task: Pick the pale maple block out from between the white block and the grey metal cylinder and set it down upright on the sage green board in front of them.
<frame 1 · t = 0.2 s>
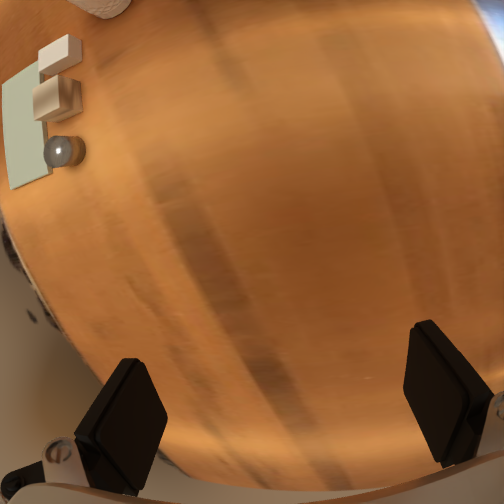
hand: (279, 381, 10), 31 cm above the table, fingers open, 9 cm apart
maple block: (68, 102, 36), on the table
sage board: (25, 124, 36), on the table
white block: (67, 58, 33), on the table
metal cylinder: (74, 151, 38), on the table
white cup: (114, 2, 31), on the table
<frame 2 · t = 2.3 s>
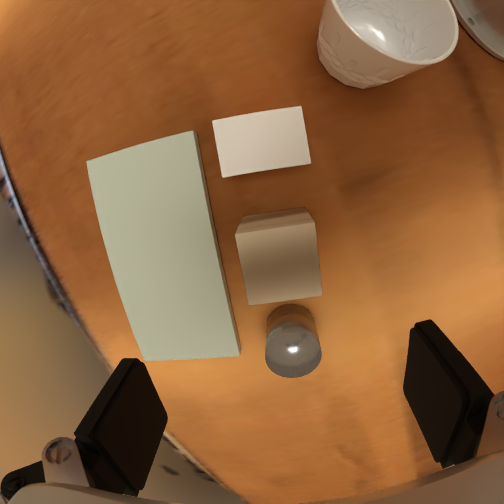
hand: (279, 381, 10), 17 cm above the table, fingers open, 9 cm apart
maple block: (278, 241, 25), on the table
sage board: (164, 258, 26), on the table
white block: (263, 143, 23), on the table
metal cylinder: (290, 324, 28), on the table
white cup: (355, 53, 20), on the table
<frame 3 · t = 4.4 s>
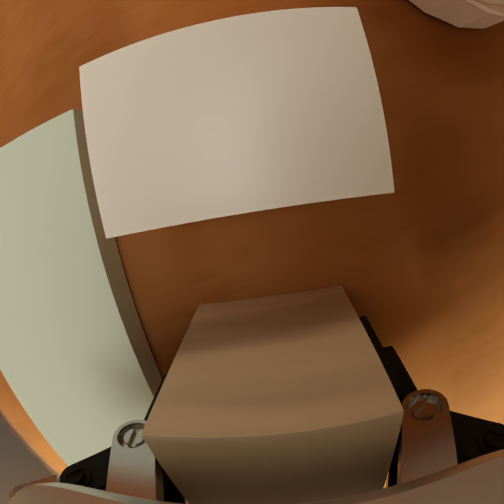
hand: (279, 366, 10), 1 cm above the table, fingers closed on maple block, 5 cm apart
maple block: (278, 354, 11), on the table, touching gripper
sage board: (67, 362, 12), on the table
white block: (242, 130, 9), on the table
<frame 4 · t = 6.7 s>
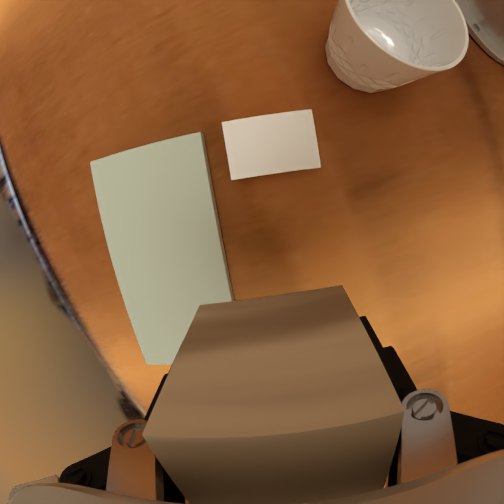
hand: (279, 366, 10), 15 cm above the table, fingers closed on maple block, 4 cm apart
maple block: (279, 354, 11), point 15 cm above the table, touching gripper
sage board: (169, 261, 26), on the table
white block: (271, 146, 23), on the table
white cup: (363, 57, 20), on the table
when the fingers open (3 cm above the table, at t = 9.4 s): maple block drops 1 cm, resting on sage board.
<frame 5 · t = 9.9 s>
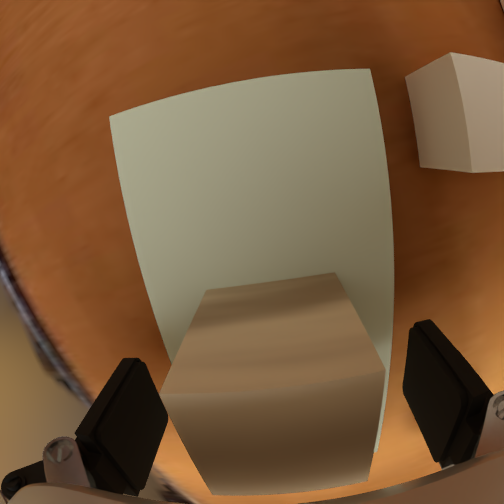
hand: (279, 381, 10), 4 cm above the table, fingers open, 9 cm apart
maple block: (278, 336, 12), point 1 cm above the table, touching sage board
sage board: (277, 322, 14), on the table
white block: (464, 121, 11), on the table
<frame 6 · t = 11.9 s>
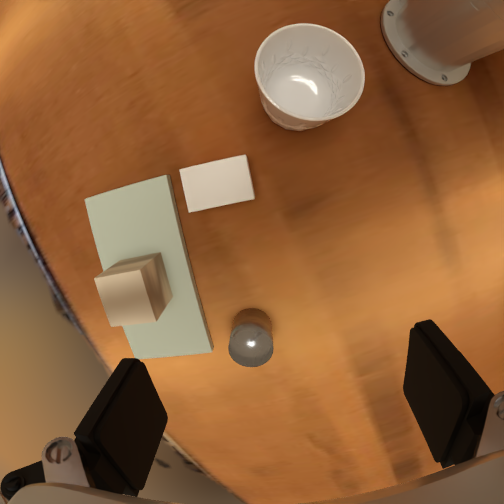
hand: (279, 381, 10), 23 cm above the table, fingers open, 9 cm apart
maple block: (145, 278, 32), point 1 cm above the table, touching sage board
sage board: (149, 274, 33), on the table
white block: (221, 182, 30), on the table
metal cylinder: (252, 325, 34), on the table
white cup: (295, 100, 28), on the table
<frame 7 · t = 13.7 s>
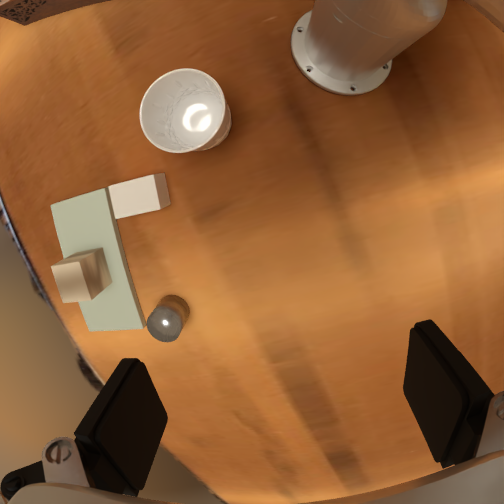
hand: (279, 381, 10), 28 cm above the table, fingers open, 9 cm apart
maple block: (93, 267, 39), point 1 cm above the table, touching sage board
sage board: (97, 264, 40), on the table
white block: (146, 193, 37), on the table
metal cylinder: (174, 309, 41), on the table
white cup: (204, 122, 34), on the table
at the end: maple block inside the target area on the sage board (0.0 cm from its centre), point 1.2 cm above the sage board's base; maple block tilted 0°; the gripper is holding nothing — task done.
